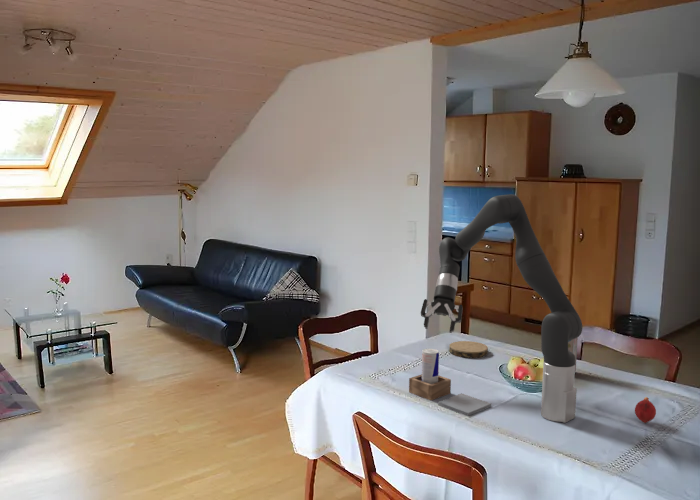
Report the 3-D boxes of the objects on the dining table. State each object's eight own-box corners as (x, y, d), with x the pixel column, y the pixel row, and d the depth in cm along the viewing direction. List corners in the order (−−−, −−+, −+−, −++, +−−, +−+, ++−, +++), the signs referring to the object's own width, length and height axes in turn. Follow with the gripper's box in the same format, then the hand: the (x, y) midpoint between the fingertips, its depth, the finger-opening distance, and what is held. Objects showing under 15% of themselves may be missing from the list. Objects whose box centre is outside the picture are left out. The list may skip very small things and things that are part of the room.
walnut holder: (450, 393, 208) (450, 379, 207) (430, 400, 201) (431, 386, 201) (428, 385, 215) (428, 372, 215) (408, 392, 209) (409, 378, 208)
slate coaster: (491, 406, 197) (491, 403, 196) (467, 416, 189) (467, 413, 189) (461, 396, 206) (461, 393, 205) (438, 404, 198) (438, 401, 198)
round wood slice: (479, 361, 244) (479, 354, 244) (442, 354, 253) (443, 347, 253) (493, 351, 258) (493, 344, 257) (458, 345, 266) (458, 339, 266)
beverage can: (437, 396, 205) (438, 353, 203) (420, 395, 206) (421, 352, 204) (438, 390, 210) (439, 348, 209) (422, 389, 212) (423, 347, 210)
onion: (654, 428, 180) (655, 402, 179) (632, 424, 183) (634, 398, 182) (656, 421, 185) (657, 396, 184) (635, 417, 188) (637, 392, 187)
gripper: (426, 281, 217) (417, 322, 210) (466, 287, 214) (458, 329, 206) (427, 290, 224) (418, 330, 216) (465, 296, 220) (458, 337, 213)
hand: (438, 330), depth 211 cm, fingers open, 8 cm apart
